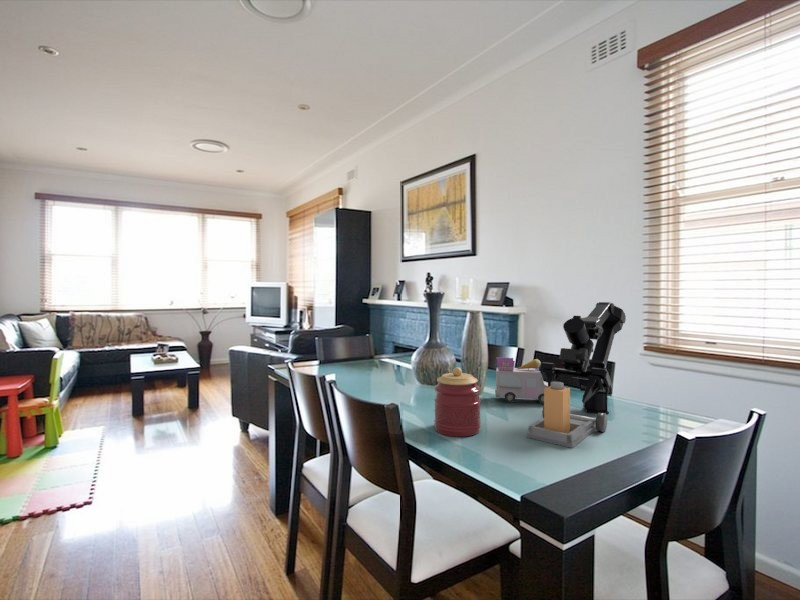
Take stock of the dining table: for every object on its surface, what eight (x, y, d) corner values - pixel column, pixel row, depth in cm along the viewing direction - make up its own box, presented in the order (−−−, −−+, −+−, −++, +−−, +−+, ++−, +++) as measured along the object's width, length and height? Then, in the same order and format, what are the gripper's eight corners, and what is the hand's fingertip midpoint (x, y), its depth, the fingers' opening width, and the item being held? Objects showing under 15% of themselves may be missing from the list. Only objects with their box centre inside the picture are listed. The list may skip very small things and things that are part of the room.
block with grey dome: (551, 428, 117) (551, 379, 117) (569, 432, 114) (570, 382, 114) (544, 433, 114) (544, 382, 113) (562, 437, 110) (563, 385, 110)
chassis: (550, 417, 131) (550, 401, 131) (608, 428, 120) (608, 411, 120) (518, 435, 115) (518, 416, 115) (582, 450, 104) (582, 429, 104)
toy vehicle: (554, 406, 144) (554, 361, 144) (495, 403, 148) (495, 360, 148) (550, 399, 153) (550, 357, 153) (495, 396, 157) (495, 356, 157)
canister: (442, 420, 129) (441, 362, 128) (485, 425, 124) (484, 364, 123) (428, 434, 117) (427, 369, 116) (475, 440, 112) (474, 373, 111)
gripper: (541, 335, 128) (525, 378, 120) (607, 339, 116) (594, 387, 108) (551, 357, 134) (536, 400, 126) (616, 364, 122) (604, 411, 114)
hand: (566, 399), depth 118 cm, fingers open, 9 cm apart
